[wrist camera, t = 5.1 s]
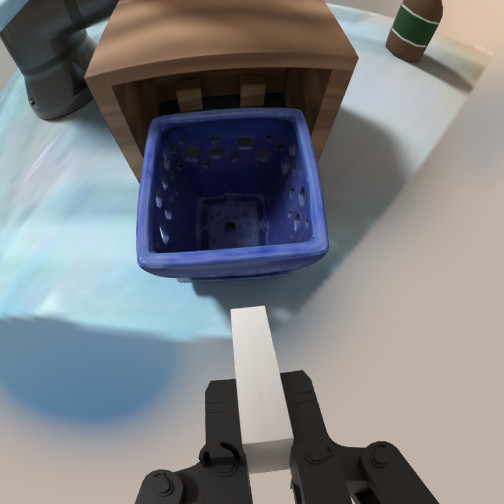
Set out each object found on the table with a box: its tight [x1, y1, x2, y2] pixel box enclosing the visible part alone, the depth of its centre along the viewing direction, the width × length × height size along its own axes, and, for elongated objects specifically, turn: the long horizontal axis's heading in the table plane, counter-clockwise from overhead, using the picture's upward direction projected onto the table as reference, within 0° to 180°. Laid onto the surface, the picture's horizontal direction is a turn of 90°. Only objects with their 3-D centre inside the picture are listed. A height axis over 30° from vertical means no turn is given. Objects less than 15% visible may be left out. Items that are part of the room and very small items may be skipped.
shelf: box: [84, 0, 359, 184], centre depth 28 cm, size 14×21×17 cm
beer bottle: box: [386, 0, 443, 62], centre depth 33 cm, size 8×8×24 cm
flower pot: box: [136, 108, 329, 283], centre depth 27 cm, size 13×13×12 cm
